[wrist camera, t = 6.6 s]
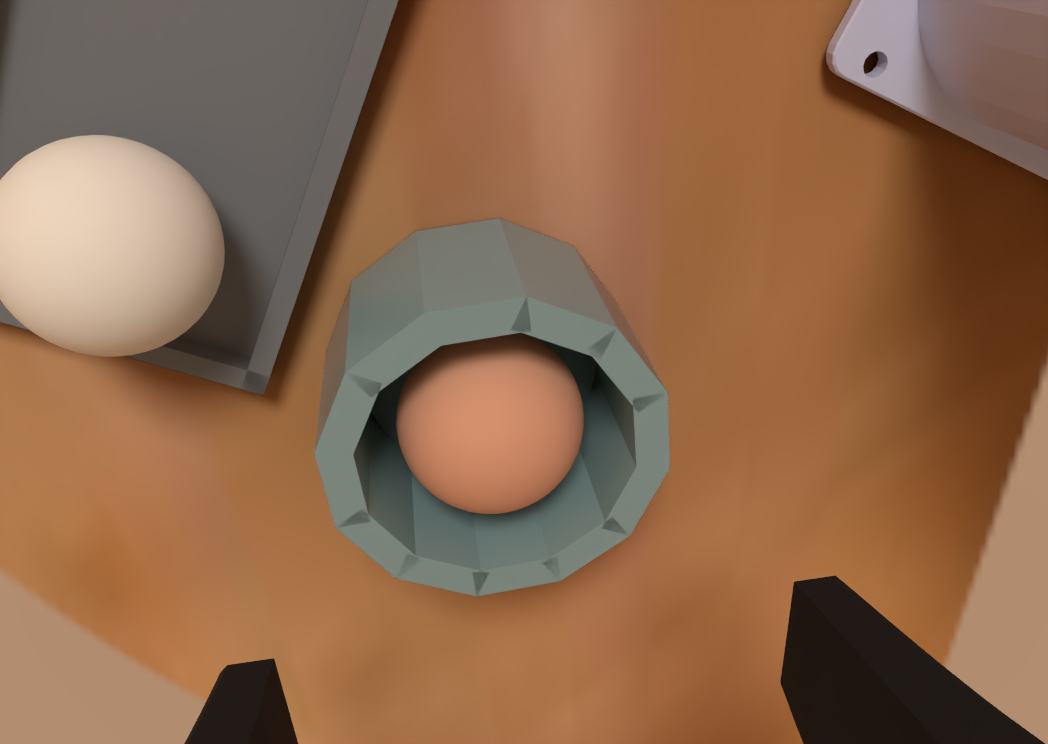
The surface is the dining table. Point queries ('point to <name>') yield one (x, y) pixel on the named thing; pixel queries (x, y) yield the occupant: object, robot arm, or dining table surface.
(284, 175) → the slate tray
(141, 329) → the ball cream
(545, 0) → the dining table surface
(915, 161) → the dining table surface
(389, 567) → the teal tube
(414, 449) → the ball terracotta
